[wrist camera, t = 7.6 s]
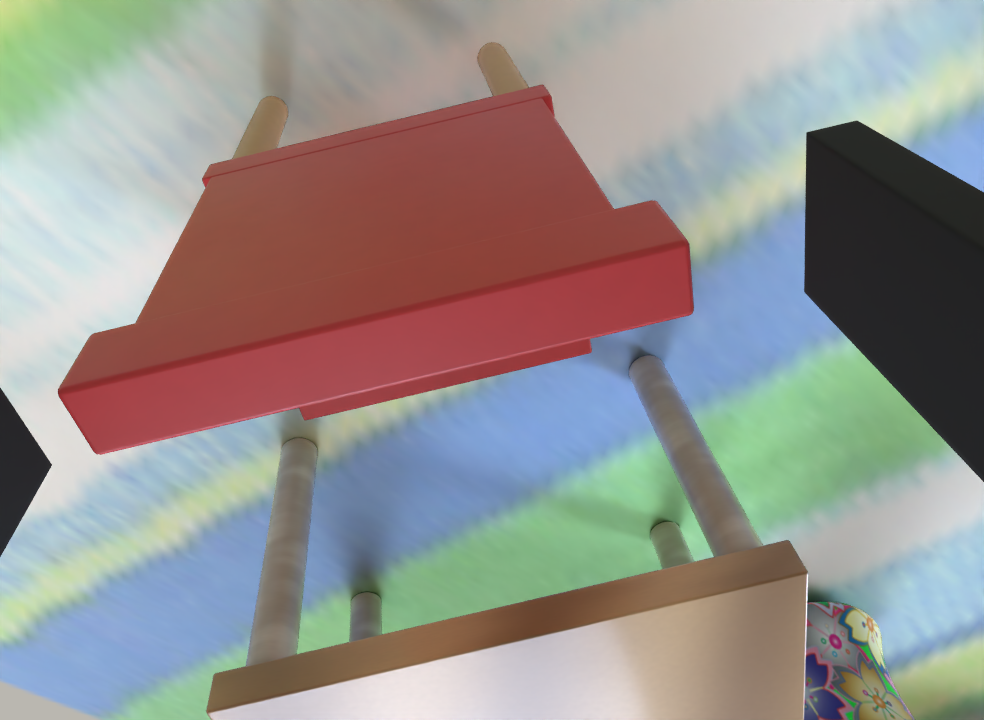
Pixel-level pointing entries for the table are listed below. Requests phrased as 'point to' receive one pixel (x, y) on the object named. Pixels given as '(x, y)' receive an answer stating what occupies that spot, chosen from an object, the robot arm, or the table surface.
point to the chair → (380, 271)
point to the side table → (548, 623)
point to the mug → (847, 667)
